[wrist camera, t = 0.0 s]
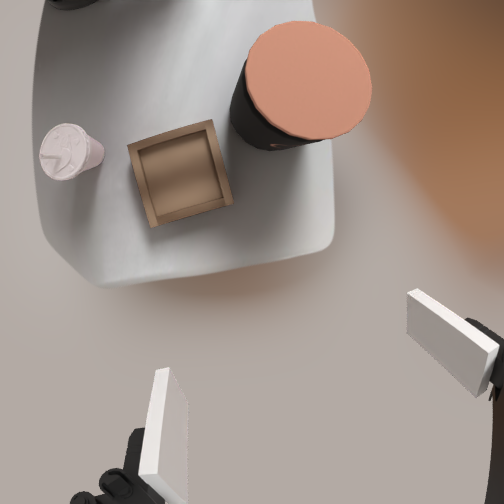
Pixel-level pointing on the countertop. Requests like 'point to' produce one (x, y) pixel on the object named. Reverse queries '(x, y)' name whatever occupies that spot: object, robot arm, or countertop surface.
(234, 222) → the countertop surface
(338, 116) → the coffee jar
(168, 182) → the wooden tray
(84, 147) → the smoothie
